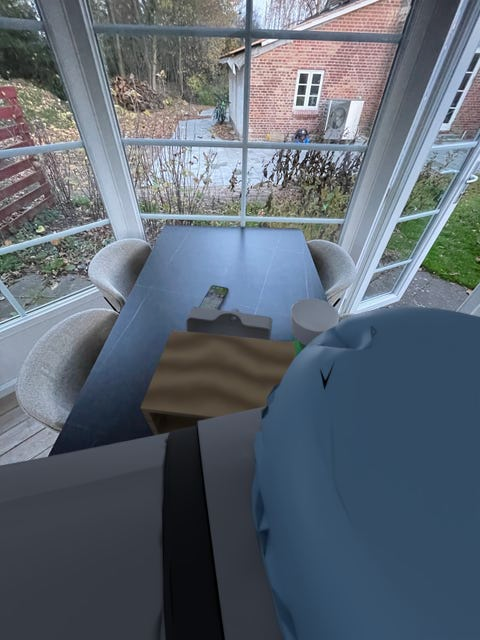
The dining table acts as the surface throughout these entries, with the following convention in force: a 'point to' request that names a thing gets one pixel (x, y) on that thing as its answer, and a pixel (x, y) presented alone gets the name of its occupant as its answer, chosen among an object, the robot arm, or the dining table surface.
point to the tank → (228, 323)
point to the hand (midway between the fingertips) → (265, 570)
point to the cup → (311, 320)
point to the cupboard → (212, 378)
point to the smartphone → (214, 297)
